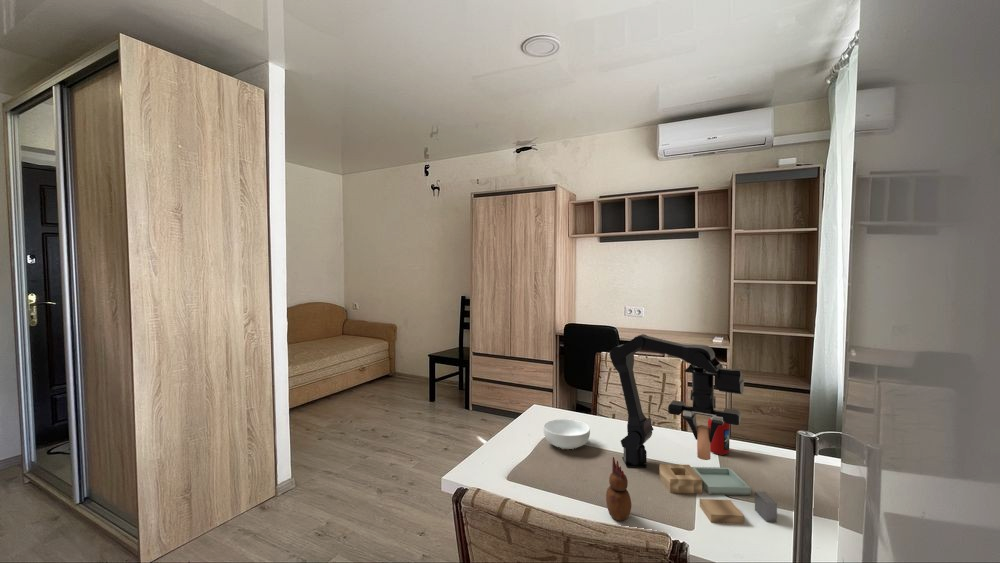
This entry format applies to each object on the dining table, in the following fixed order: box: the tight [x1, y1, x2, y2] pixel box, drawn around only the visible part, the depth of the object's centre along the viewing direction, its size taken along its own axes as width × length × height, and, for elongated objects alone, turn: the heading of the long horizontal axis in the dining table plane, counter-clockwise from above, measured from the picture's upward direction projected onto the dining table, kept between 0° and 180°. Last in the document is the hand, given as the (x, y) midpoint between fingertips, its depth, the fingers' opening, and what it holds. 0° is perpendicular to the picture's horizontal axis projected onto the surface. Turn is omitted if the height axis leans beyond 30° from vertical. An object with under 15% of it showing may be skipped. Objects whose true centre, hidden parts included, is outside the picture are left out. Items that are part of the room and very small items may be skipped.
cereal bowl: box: [543, 418, 591, 450], centre depth 147 cm, size 17×17×7 cm
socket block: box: [659, 463, 703, 494], centre depth 119 cm, size 9×9×4 cm
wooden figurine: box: [605, 456, 632, 522], centre depth 104 cm, size 7×6×15 cm
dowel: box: [696, 424, 712, 461], centre depth 119 cm, size 4×4×9 cm
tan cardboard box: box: [699, 498, 745, 525], centre depth 105 cm, size 8×7×2 cm
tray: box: [691, 466, 752, 496], centre depth 120 cm, size 12×12×2 cm
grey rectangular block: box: [754, 491, 778, 523], centre depth 104 cm, size 3×5×5 cm, turn 176°
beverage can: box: [707, 416, 730, 456], centre depth 141 cm, size 7×7×12 cm
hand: (703, 440), depth 119 cm, fingers closed on dowel, 3 cm apart
